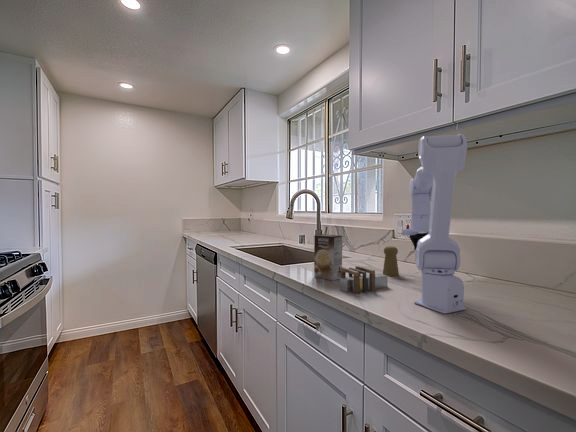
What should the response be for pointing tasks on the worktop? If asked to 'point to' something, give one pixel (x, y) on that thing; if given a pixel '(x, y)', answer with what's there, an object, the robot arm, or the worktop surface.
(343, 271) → the wooden slatted rack
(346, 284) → the tube
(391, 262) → the cork
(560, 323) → the worktop surface
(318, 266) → the coffee box
